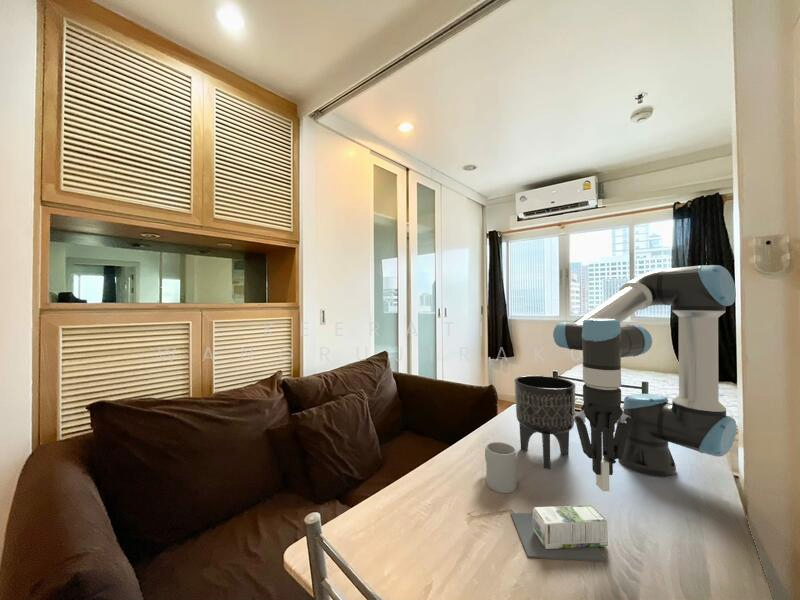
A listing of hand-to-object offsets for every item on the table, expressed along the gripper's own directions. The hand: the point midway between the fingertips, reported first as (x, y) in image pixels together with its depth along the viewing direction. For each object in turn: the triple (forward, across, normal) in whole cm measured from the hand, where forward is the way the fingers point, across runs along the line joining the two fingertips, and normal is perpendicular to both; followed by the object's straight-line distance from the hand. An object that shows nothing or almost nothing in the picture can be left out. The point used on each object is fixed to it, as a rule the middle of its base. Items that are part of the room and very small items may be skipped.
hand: (602, 487), depth 74 cm
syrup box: (+8, +1, 0) cm, 8 cm away
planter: (+12, -1, -39) cm, 41 cm away
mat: (+12, +11, 0) cm, 16 cm away
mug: (+12, +19, -22) cm, 32 cm away
